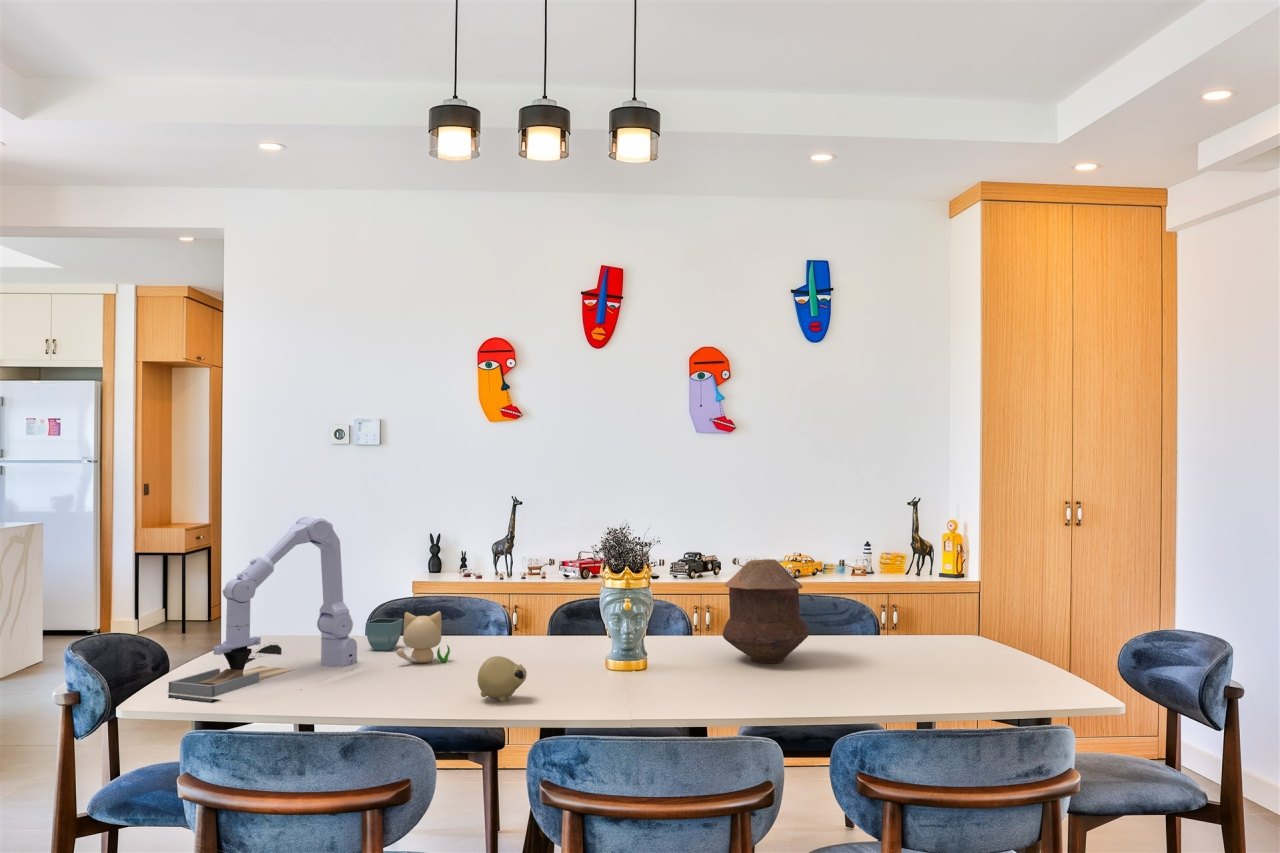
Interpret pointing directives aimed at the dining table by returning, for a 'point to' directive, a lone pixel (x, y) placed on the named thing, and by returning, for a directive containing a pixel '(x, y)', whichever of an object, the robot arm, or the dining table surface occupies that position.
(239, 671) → the brown wooden block
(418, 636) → the kitten
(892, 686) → the dining table surface
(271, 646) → the hairbrush
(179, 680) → the tray
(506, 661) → the toy pig
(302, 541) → the robot arm
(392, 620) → the flower pot
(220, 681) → the tile
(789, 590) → the pottery vessel
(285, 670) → the oak board
